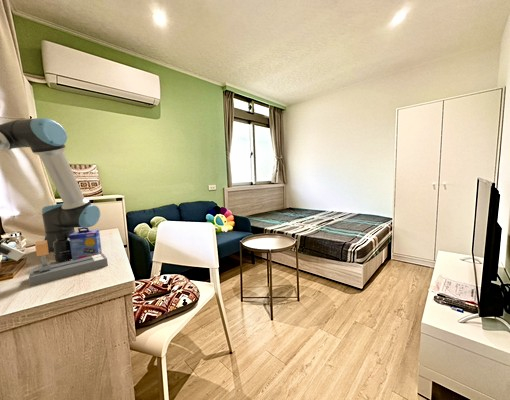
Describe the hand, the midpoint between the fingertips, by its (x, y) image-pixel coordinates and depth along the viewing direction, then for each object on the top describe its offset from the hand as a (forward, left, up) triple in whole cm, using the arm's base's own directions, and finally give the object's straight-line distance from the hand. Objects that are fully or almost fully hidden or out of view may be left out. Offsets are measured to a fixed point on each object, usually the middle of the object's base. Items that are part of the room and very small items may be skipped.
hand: (21, 256), depth 74 cm
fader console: (-5, +11, -10) cm, 16 cm away
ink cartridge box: (-19, +12, -10) cm, 25 cm away
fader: (-2, +5, -6) cm, 8 cm away
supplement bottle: (-22, +3, -10) cm, 24 cm away
